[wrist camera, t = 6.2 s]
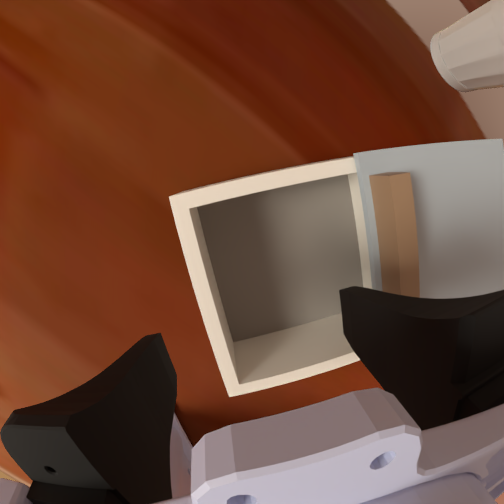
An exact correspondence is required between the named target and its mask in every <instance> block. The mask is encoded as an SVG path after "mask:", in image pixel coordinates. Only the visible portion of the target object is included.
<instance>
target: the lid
mask: <svg viewBox="0 0 504 504" xmlns="http://www.w3.org/2000/svg"><path fill="white" fill-rule="evenodd" d="M353 155H354V160H355V165H356V171H357V176H358V182H359V188H360V194H361V200H362V206H363V213H364V220H365V227H366V235H367V243H368V252H369V261H370V271H371V282H372V289H374V290H379V291H383V292H388V293H393V294H398V295H404V296H410V297H418V298H433V299H446V298H463V297H471V296H478V295H484V294H488V293H492V292H496V291H500V290H504V148H503V142H502V139H486V140H470V141H456V142H444V143H433V144H423V145H414V146H405V147H397V148H389V149H381V150H374V151H367V152H360V153H353Z"/></svg>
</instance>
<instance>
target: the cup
mask: <svg viewBox="0 0 504 504" xmlns="http://www.w3.org/2000/svg"><path fill="white" fill-rule="evenodd" d="M430 49H431V55H432V58H433V61H434V63H435V66H436V68H437V69H438V71H439V73H440V74H441V76H442V77H443V78H444V79H445V81H446V82H447V83H448V84H449V85H451V86H452V87H453V88H455V89H456V90H458V91H461V92H469V91H473V90H478V89H487V88H496V87H504V0H491V1H489V2H487V3H486V4H484V5H482V6H481V7H479V8H478V9H476V10H474V11H473V12H471V13H470V14H468V15H466V16H465V17H463V18H462V19H460V20H459V21H457V22H455V23H454V24H452V25H451V26H449V27H448V28H446V29H443V30H441V31H439V32H438V33H436V34H435V35H434V36H433V37H432V39H431V44H430Z"/></svg>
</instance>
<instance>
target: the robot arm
mask: <svg viewBox="0 0 504 504" xmlns="http://www.w3.org/2000/svg"><path fill="white" fill-rule="evenodd" d="M339 294H340V303H341V312H342V322H343V333H344V335H345V337H346V339H347V341H348V343H349V344H350V346H351V348H352V350H353V351H354V352H355V354H356V355H357V356H358V358H359V359H360V360H361V361H362V363H363V364H364V365H365V366H366V367H367V369H368V370H369V371H370V372H371V374H372V375H373V376H374V377H375V378H376V380H377V381H378V382H379V383H380V385H381V386H382V387H383V389H384V390H385V391H384V390H382V389H379V388H372V389H366V390H360V391H353V392H350V393H347V394H344V395H341V396H338V397H335V398H332V399H329V400H326V401H323V402H319V403H316V404H313V405H309V406H306V407H302V408H299V409H295V410H292V411H288V412H284V413H280V414H276V415H272V416H268V417H264V418H260V419H255V420H251V421H246V422H241V423H236V424H231V425H228V426H226V427H223V428H220V429H218V430H215V431H212V432H210V433H207V434H205V435H204V436H203V437H202V438H201V439H200V440H199V442H198V443H197V444H196V445H195V446H194V447H193V446H192V444H191V443H190V441H189V439H188V437H187V435H186V434H185V432H184V430H183V428H182V426H181V424H180V422H179V420H178V418H177V416H176V414H175V413H174V410H175V404H176V396H177V374H176V372H175V369H174V367H173V364H172V362H171V359H170V357H169V354H168V352H167V349H166V346H165V344H164V341H163V338H162V336H161V333H157V334H152V335H147V336H145V337H143V338H142V339H141V340H139V341H138V342H137V343H136V344H135V345H133V346H132V347H131V348H130V349H129V350H128V351H127V352H125V353H124V354H123V355H122V356H121V357H120V358H119V359H117V360H116V361H115V362H114V363H112V364H111V365H110V366H109V367H108V368H106V369H105V370H104V371H102V372H101V373H100V374H98V375H97V376H95V377H94V378H92V379H91V380H89V381H88V382H86V383H84V384H83V385H81V386H79V387H77V388H75V389H73V390H71V391H69V392H67V393H66V394H63V395H61V396H59V397H56V398H54V399H51V400H49V401H46V402H43V403H40V404H37V405H33V406H29V407H25V408H21V409H17V410H14V411H13V412H12V414H11V415H10V417H9V418H8V420H7V421H6V423H5V424H4V426H3V427H2V429H1V432H0V434H1V440H2V442H3V444H4V446H5V449H6V450H7V451H8V453H9V454H10V456H11V457H12V458H13V459H14V460H15V462H16V463H17V464H18V465H19V466H20V467H21V469H22V470H23V471H24V472H25V473H26V474H27V475H28V476H29V477H30V478H31V480H33V482H32V484H31V487H30V488H29V487H28V486H26V485H25V484H23V483H20V482H16V481H12V480H8V479H4V478H1V479H0V504H497V502H496V501H495V499H496V498H498V497H499V496H500V495H501V494H502V493H503V492H504V290H500V291H496V292H492V293H488V294H484V295H478V296H471V297H463V298H446V299H433V298H418V297H410V296H404V295H398V294H393V293H388V292H383V291H379V290H374V289H370V288H365V287H359V286H351V287H348V288H344V289H341V290H339Z"/></svg>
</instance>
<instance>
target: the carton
mask: <svg viewBox="0 0 504 504" xmlns="http://www.w3.org/2000/svg"><path fill="white" fill-rule="evenodd" d="M169 199H170V203H171V207H172V211H173V215H174V219H175V223H176V227H177V231H178V234H179V238H180V242H181V246H182V249H183V253H184V256H185V260H186V264H187V267H188V271H189V274H190V278H191V281H192V284H193V288H194V291H195V295H196V298H197V301H198V304H199V308H200V311H201V314H202V317H203V321H204V324H205V327H206V330H207V333H208V336H209V339H210V342H211V345H212V348H213V351H214V354H215V357H216V360H217V363H218V366H219V369H220V372H221V375H222V378H223V381H224V384H225V386H226V389H227V392H228V395H229V397H232V396H237V395H241V394H246V393H250V392H254V391H259V390H263V389H267V388H271V387H274V386H278V385H282V384H286V383H289V382H293V381H296V380H300V379H303V378H307V377H310V376H313V375H317V374H320V373H323V372H326V371H329V370H333V369H336V368H339V367H342V366H345V365H347V364H350V363H353V362H356V361H359V360H360V359H359V358H358V356H357V355H356V354H355V352H354V351H353V350H352V348H351V346H350V344H349V343H348V341H347V339H346V337H345V335H344V333H343V322H342V312H341V303H340V294H339V290H341V289H344V288H348V287H351V286H359V287H365V288H370V289H372V282H371V271H370V261H369V252H368V243H367V235H366V227H365V220H364V213H363V206H362V200H361V194H360V188H359V182H358V176H357V171H356V165H355V160H354V156H350V157H344V158H338V159H332V160H326V161H320V162H315V163H309V164H304V165H298V166H293V167H288V168H283V169H278V170H273V171H268V172H263V173H259V174H254V175H250V176H245V177H241V178H236V179H232V180H227V181H223V182H219V183H215V184H211V185H207V186H203V187H199V188H195V189H191V190H187V191H183V192H180V193H177V194H175V195H172V196H169Z"/></svg>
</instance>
